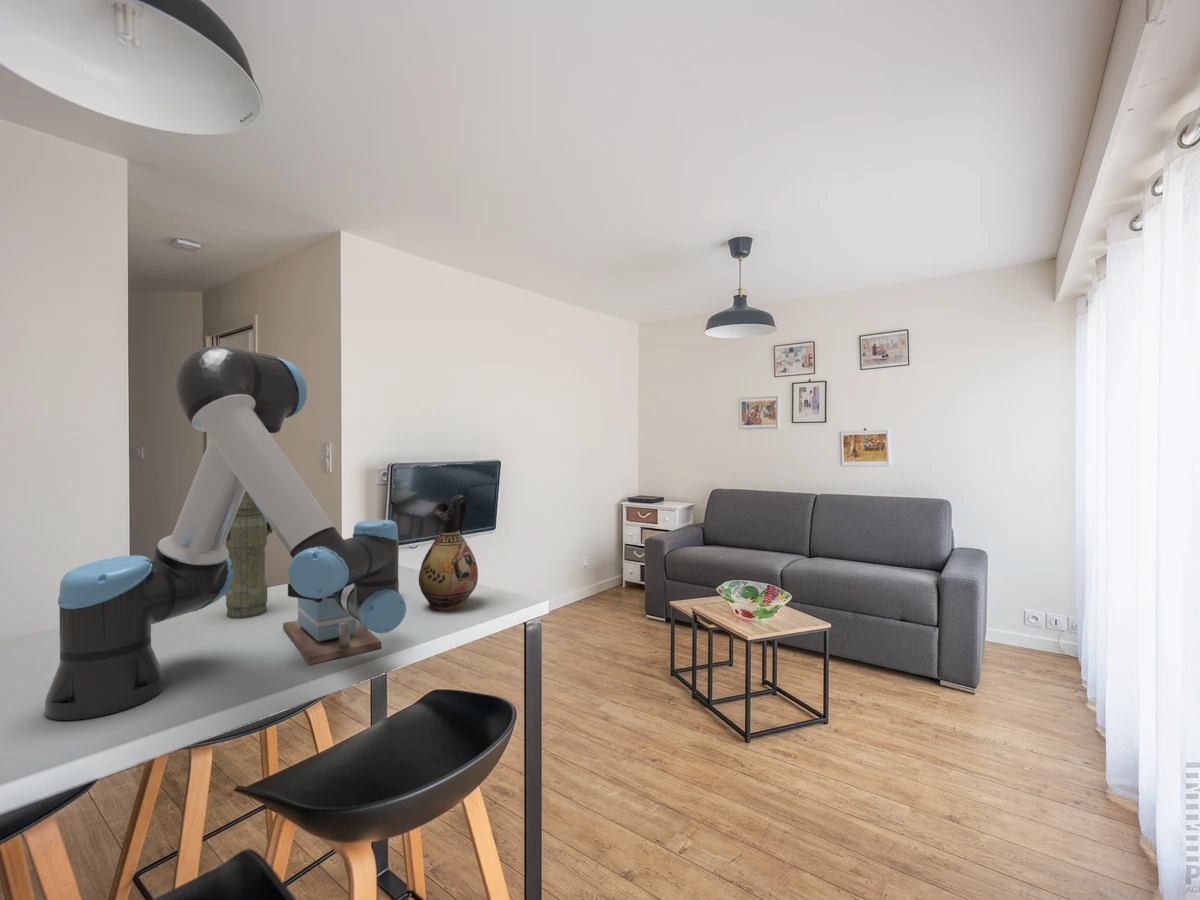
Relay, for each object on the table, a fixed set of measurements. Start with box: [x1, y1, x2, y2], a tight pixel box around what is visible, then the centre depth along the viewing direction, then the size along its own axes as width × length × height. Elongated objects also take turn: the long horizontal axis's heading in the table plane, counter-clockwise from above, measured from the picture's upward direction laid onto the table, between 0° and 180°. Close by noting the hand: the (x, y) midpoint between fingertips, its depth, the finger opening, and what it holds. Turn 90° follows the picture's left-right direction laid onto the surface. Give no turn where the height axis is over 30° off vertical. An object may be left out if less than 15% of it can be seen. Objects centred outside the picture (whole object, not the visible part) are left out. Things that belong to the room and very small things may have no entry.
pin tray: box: [282, 619, 382, 666], centre depth 124 cm, size 14×27×6 cm, turn 39°
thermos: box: [225, 491, 274, 620], centre depth 141 cm, size 9×12×35 cm
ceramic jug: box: [418, 494, 479, 612], centre depth 149 cm, size 17×15×30 cm
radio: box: [297, 597, 356, 642], centre depth 124 cm, size 16×9×20 cm, turn 42°
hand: (331, 575), depth 124 cm, fingers open, 13 cm apart
